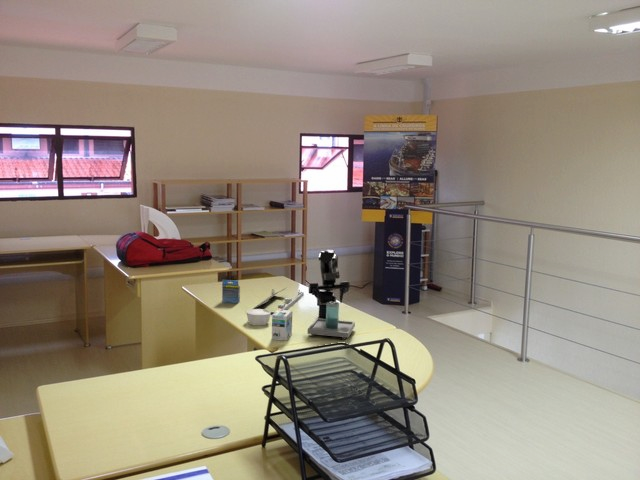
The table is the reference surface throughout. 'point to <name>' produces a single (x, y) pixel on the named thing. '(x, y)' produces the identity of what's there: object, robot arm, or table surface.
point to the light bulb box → (281, 324)
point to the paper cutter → (287, 300)
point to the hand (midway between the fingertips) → (331, 303)
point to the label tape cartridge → (230, 291)
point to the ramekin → (258, 316)
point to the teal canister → (332, 315)
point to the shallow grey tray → (341, 331)
